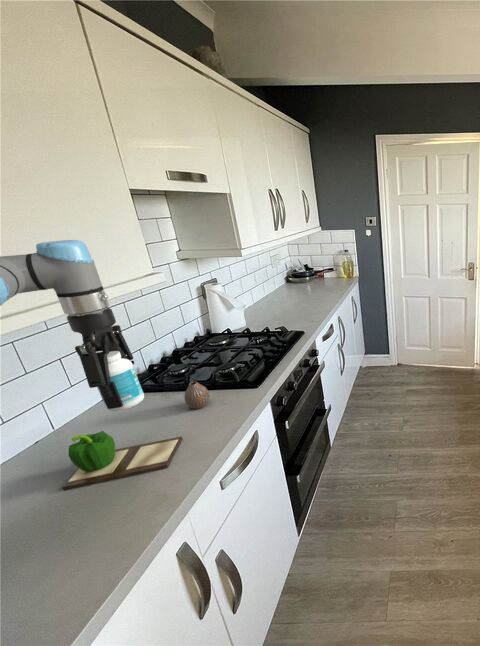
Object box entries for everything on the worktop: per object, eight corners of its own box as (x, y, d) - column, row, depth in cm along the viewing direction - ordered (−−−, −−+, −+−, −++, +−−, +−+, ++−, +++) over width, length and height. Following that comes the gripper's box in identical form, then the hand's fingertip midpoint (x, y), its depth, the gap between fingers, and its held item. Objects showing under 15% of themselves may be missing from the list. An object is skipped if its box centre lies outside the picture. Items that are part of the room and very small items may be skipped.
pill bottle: (151, 399, 88) (133, 351, 83) (117, 415, 82) (95, 364, 77) (135, 392, 91) (116, 346, 86) (100, 408, 85) (78, 358, 80)
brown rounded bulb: (214, 404, 118) (208, 382, 115) (191, 414, 113) (184, 391, 110) (207, 397, 122) (201, 375, 119) (185, 406, 117) (177, 384, 114)
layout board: (63, 490, 85) (61, 486, 84) (91, 457, 95) (89, 453, 95) (167, 467, 91) (166, 464, 91) (182, 439, 102) (181, 435, 101)
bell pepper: (125, 449, 96) (112, 419, 93) (114, 469, 89) (100, 438, 86) (86, 459, 93) (71, 428, 90) (72, 480, 86) (55, 448, 82)
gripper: (82, 324, 70) (122, 418, 78) (129, 297, 88) (158, 376, 96) (35, 329, 68) (81, 426, 76) (93, 300, 86) (125, 381, 94)
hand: (124, 398), depth 86 cm, fingers closed on pill bottle, 7 cm apart
